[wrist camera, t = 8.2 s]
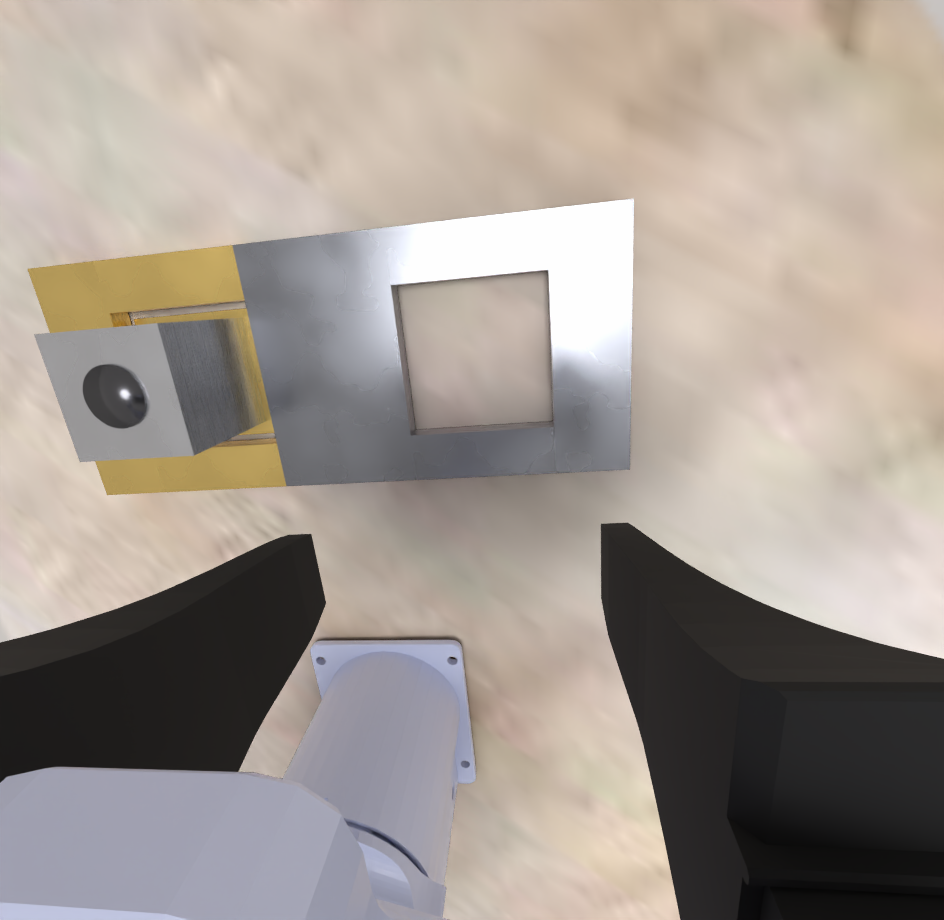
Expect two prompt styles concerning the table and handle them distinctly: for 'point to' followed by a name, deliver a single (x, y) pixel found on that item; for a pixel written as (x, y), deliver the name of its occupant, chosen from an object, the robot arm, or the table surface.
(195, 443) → the grey cube with hole
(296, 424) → the rail
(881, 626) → the table surface
